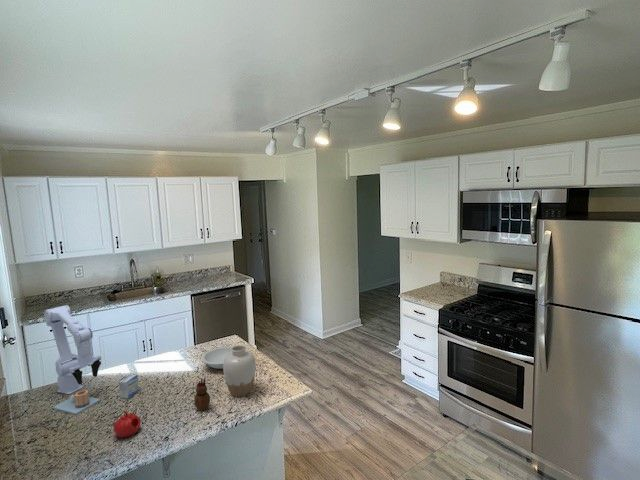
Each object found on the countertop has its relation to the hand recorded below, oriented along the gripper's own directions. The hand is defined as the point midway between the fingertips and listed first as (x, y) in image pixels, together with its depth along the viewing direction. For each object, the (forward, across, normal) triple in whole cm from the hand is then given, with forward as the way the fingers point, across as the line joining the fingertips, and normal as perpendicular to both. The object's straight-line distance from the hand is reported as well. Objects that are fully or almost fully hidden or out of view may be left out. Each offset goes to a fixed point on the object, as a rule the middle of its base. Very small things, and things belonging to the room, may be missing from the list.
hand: (87, 379), depth 173 cm
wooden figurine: (+10, +11, -60) cm, 62 cm away
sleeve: (+9, -6, -4) cm, 11 cm away
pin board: (+10, -6, +1) cm, 11 cm away
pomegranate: (+10, -13, -42) cm, 45 cm away
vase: (+10, +29, -69) cm, 75 cm away
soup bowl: (+10, +51, -42) cm, 67 cm away
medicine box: (+10, +10, -16) cm, 21 cm away
